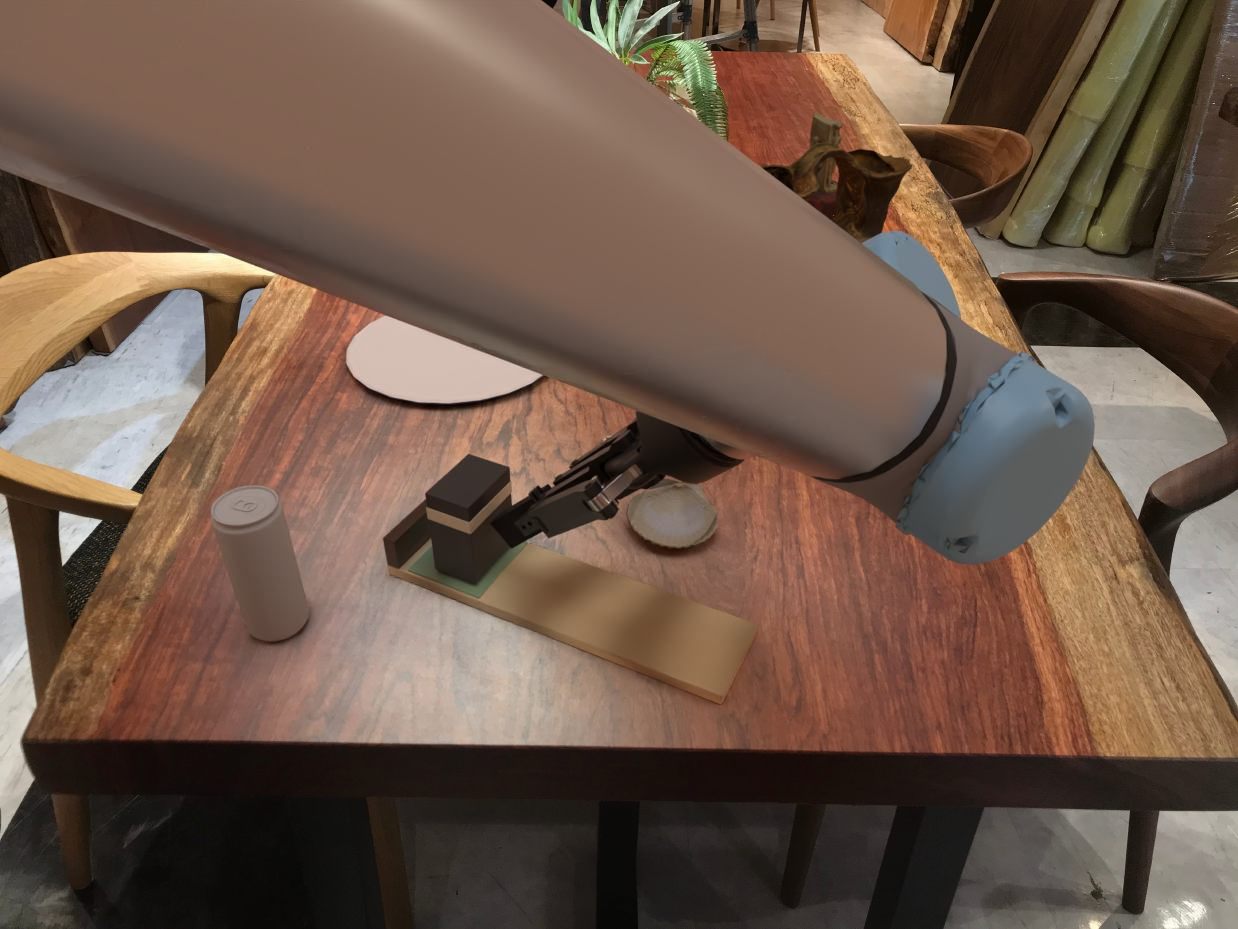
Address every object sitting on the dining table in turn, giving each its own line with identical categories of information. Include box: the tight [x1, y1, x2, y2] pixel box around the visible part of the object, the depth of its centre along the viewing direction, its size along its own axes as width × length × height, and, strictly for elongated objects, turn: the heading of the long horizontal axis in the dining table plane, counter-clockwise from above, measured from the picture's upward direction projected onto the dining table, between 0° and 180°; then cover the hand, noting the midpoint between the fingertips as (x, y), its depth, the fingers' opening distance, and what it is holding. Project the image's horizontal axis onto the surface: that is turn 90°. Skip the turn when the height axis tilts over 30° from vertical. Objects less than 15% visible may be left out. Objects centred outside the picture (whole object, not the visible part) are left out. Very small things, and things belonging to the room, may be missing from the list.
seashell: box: [626, 478, 719, 550], centre depth 80 cm, size 8×3×8 cm
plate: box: [345, 315, 545, 406], centre depth 106 cm, size 25×25×1 cm
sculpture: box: [808, 112, 843, 220], centre depth 143 cm, size 10×8×15 cm
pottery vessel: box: [760, 142, 913, 243], centre depth 116 cm, size 25×11×20 cm, turn 118°
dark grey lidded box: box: [424, 453, 513, 584], centre depth 73 cm, size 4×6×8 cm
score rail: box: [382, 498, 759, 705], centre depth 72 cm, size 30×8×4 cm, turn 64°
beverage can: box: [210, 484, 310, 642], centre depth 67 cm, size 5×5×12 cm
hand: (506, 530), depth 72 cm, fingers closed
